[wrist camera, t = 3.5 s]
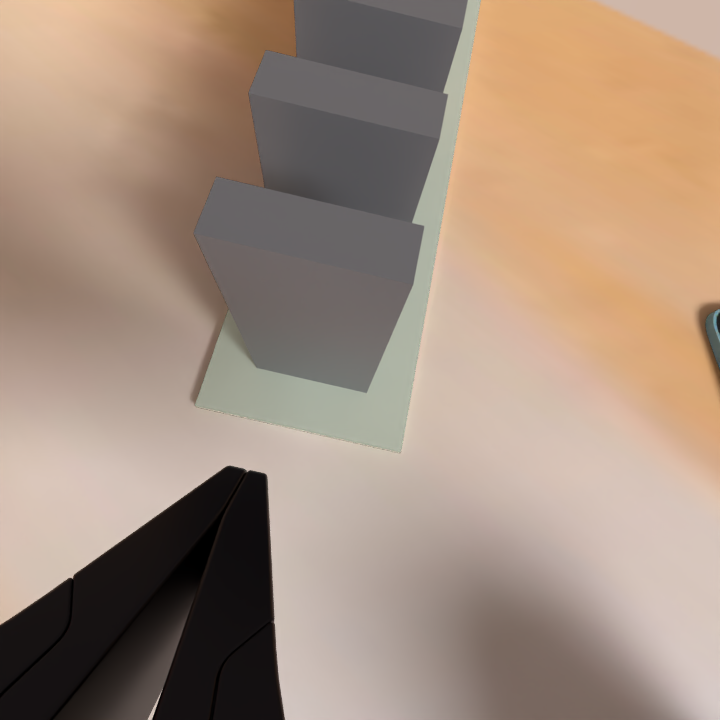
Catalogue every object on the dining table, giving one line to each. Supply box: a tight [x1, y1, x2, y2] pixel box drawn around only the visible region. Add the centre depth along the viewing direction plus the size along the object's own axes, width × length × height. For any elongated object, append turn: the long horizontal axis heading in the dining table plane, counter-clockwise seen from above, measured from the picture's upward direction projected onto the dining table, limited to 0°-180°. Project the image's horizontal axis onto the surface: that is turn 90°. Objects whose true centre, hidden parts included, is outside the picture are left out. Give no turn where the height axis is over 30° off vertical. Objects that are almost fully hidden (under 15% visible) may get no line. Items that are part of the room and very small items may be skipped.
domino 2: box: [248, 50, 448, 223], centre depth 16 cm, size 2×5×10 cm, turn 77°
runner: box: [195, 0, 481, 453], centre depth 23 cm, size 30×9×1 cm, turn 167°
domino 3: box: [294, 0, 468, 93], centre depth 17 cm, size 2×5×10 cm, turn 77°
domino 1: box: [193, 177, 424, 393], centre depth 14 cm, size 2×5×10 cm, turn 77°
